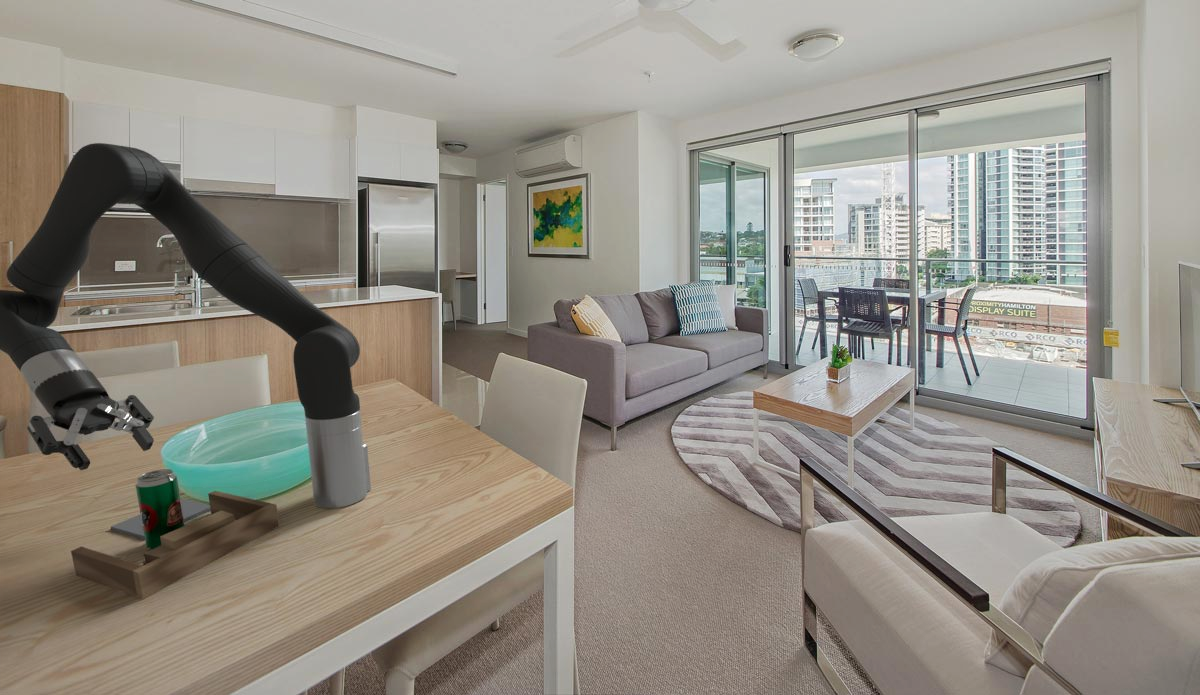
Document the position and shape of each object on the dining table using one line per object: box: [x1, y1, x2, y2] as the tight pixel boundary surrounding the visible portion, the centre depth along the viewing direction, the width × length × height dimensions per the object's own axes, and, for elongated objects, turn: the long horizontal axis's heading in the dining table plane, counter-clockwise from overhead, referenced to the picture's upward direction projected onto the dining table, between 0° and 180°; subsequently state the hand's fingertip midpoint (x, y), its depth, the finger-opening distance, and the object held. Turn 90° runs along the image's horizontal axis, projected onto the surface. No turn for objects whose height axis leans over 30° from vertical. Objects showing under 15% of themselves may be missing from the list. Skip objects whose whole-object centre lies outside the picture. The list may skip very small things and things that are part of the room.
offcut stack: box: [142, 510, 236, 566], centre depth 81 cm, size 12×5×4 cm, turn 160°
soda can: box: [134, 468, 186, 551], centre depth 83 cm, size 5×5×12 cm
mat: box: [110, 497, 211, 540], centre depth 92 cm, size 11×9×1 cm
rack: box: [70, 490, 280, 600], centre depth 82 cm, size 20×15×4 cm
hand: (119, 456), depth 85 cm, fingers open, 8 cm apart
